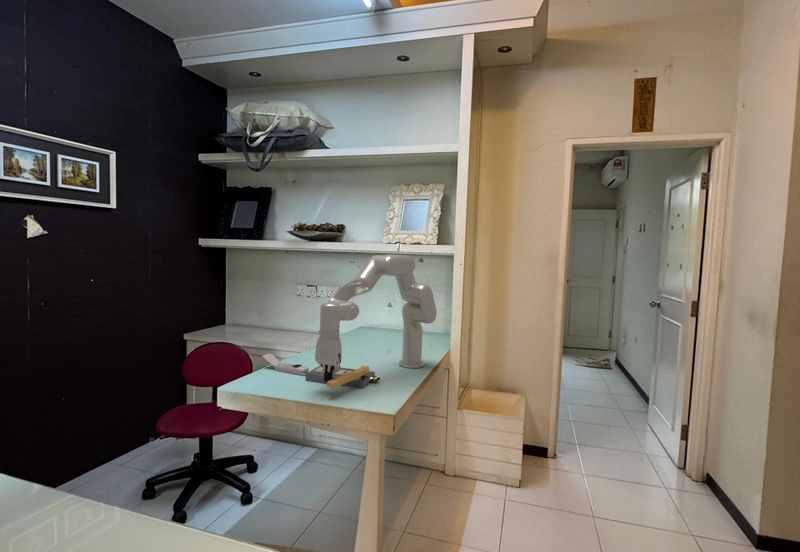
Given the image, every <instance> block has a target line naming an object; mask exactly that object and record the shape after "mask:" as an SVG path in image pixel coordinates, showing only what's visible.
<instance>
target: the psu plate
mask: <svg viewBox="0 0 800 552" xmlns="http://www.w3.org/2000/svg"><path fill="white" fill-rule="evenodd" d="M356 369H357V368H349V367H348V368H347V367H342V366H340V368H335V369H334V371H333V378H332V380H333V379H335V378H337V377H340V376H342V375H344V374H347V373H349V372H352V371H354V370H356ZM305 374H306V375H305V381H307V382H313V383H320V384H326V385H327V382H326V381H324V371H323V368H322V366H321V365H319V366H317V367H314V368H313V369H311V370H310V371H308V372H306V373H305ZM371 376H374V377H375V376H376V375H375V371H371V370H369V374H365V375H362V376H360V377H358V378H356V379H353V380H351V381H349V382H347V383H345V384H342V385H340V386H342V387H348V388H355V389H361V390H362V389H364V388H365V387H366V386H367V385H369V384H370V383H369V379H370V377H371ZM340 386H339V387H340Z"/></svg>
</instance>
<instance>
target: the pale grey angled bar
mask: <svg viewBox="0 0 800 552" xmlns="http://www.w3.org/2000/svg"><path fill="white" fill-rule="evenodd" d="M261 357H262V358H263V359H264V360H265V361H267V362H268V363H269V364H270V365H271V366H272V367H273V368H274V371H277V372H281V371H282V373H286V372H287V374H291V373H292V374H293V375H297V374H298V375H301V376H306V373H308V372H309V367H308V366H306V365H303V364H301V363H299V364H298V363H297V364H293V363H288V362H287V363H286V362H281V361H280V360H279V359H278V358H277V357H276V356H275V355H274V354H272V353H267V354H264V355H261ZM298 375H297V376H298Z"/></svg>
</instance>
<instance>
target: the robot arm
mask: <svg viewBox="0 0 800 552" xmlns="http://www.w3.org/2000/svg"><path fill="white" fill-rule="evenodd" d="M415 269H416V260H415V259H414V258H413V257H412V256H410V255H405V254H404V255H403V254H402V255H401V254H391V253H390V254H384V255H380V254H376V255H373V256H370V257H369V259H368V260H367V262H366V263H365V264H364V266H362V268H361V269H360V270H359V272H358V274H357V275H356V277H354V278H353V279H352V280H350V281H348V282H347V283H345V284H343V285H342V286H341V287H339V288H338V289H337V290H336V291H335V292H334V293H333V295H332V296H331V298H330V299H329V300H328V302H323V303H321V305H320V313H319V318H320V319H319V320H320V321H319V329H318V331H317V332H318V334H319V336H318V337H317V340H316V345H315V351H314V352H315V353H314V354H315V356H314V359H315V362H316V363H317V365H319V366H320V365H321V366H322V368H323V371H324V381H326V382H328V381H330V380H332V378H333V371H334V369H335V368H340V367H341V363H342V358H343V357H342V356H343V352H342V342H341V341H342V340H341V338H340V325H341V323H340V322H341V321H348V322H349V321H353V320H355V319H357V318H358V316H359V314H360V308H359V306H358V305H357V303H356V302H353V301H349V300H350V299H352V298H355V297H358V296H360V295H364V294H366V293H369V292H371V291H373V288H374V287H375V286H376V284H377V282H378V281H379V280H380V279H381V277H382V276H388V277H389V276H390V277H391V276H393V277H394V278H395V279H396V283H397V287H398V289H399V293H400V297H401V299H402V300H403V302H405V303H404V305H403V306H402V309H401V310H402V311H401V313H402V319H403V320H402V322H403V333H402V335H403V337H402V355H401V360H399V362H398V365H399V366H400V367H403V368H406V369H419V368H423V367H424V366H425V362H424V361H422V357H423V355H422V352H423V350H422V349H423V332H424V331H423V326H422V323H423V324H433V323H434V322H435V321H436V318H437V315H438V314H437V307H436V303H435V298H434V297H435V296H434V294H433V290H432V288H431V287H430V286H429V284H425V283H419V282H417V281H416V279H415V274H414V272H415Z"/></svg>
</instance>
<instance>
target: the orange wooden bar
mask: <svg viewBox="0 0 800 552" xmlns="http://www.w3.org/2000/svg"><path fill="white" fill-rule="evenodd" d="M355 369H356V370H354V371H352V372H349V373H347V374H344V375H342V376H340V377H337V378H335V379H333V380H330V381H328V382H327V384H326V385H327V386H326V387H327V388H330V389H335V388H339V387H340V385H342V384H345V383H347V382H349V381H351V380H353V379H356V378H358V377H360V376H362V375H365V374H369V371H370V366H367V365H363V366H360V367H359V368H355Z"/></svg>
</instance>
